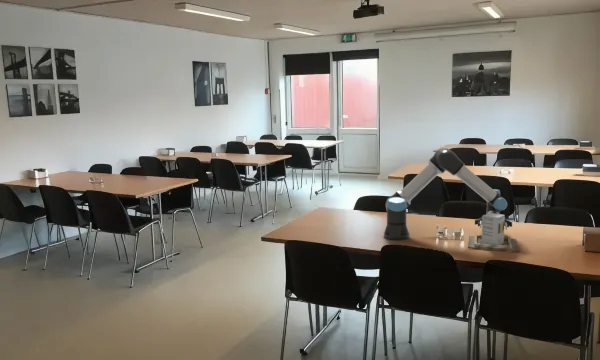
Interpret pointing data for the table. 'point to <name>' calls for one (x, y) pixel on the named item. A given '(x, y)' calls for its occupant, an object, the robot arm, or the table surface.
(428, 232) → the table surface
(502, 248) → the grey brown square tray
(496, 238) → the supplement box
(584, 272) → the table surface
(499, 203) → the robot arm
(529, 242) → the table surface
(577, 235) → the table surface
